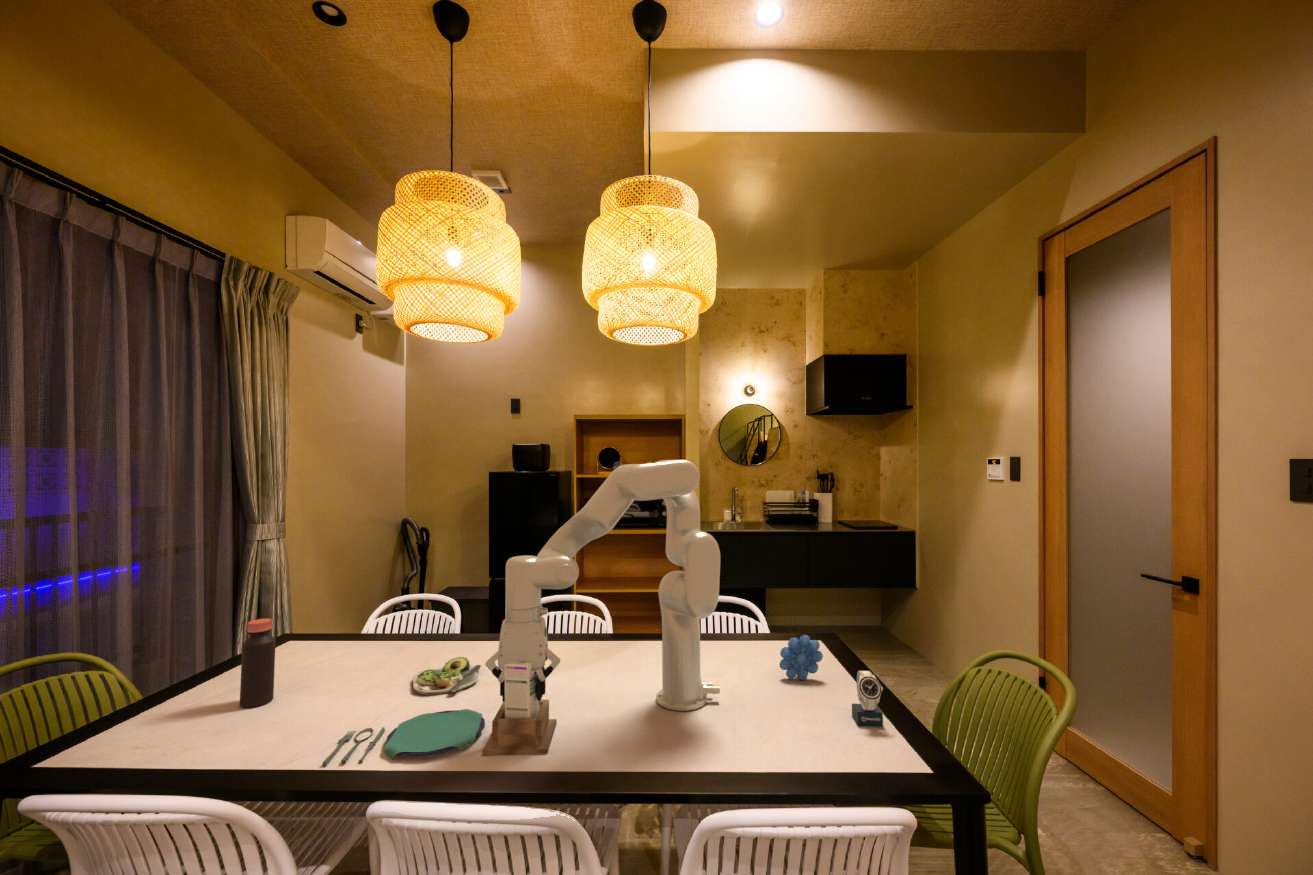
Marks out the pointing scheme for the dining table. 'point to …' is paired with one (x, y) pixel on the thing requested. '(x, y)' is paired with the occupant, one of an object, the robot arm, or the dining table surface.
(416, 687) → the avocado toast plate
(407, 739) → the cutlery set
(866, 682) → the watch
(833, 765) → the dining table surface
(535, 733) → the walnut holder
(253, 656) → the bottle
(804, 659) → the blue knobbly flower shape
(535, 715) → the syrup box
